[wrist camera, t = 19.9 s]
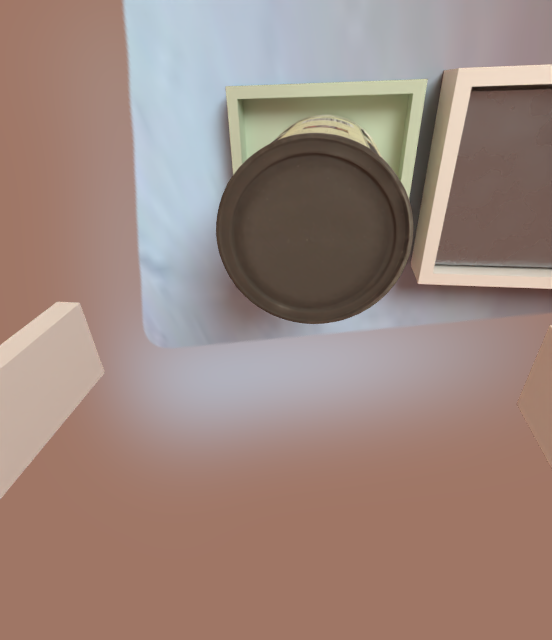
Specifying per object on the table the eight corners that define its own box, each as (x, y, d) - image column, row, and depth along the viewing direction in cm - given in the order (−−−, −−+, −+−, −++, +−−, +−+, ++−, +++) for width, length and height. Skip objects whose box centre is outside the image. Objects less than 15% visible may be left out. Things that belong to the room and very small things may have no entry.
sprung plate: (670, 84, 24) (682, 84, 23) (590, 263, 31) (597, 268, 30) (465, 91, 26) (470, 91, 25) (431, 259, 32) (434, 264, 31)
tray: (421, 79, 27) (427, 78, 25) (394, 259, 35) (398, 270, 32) (233, 86, 29) (225, 86, 27) (246, 255, 37) (241, 265, 34)
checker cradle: (683, 60, 25) (737, 57, 21) (589, 269, 33) (617, 291, 29) (443, 70, 27) (458, 68, 23) (410, 264, 35) (417, 283, 31)
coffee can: (287, 256, 35) (260, 342, 24) (242, 145, 31) (180, 182, 19) (398, 220, 32) (432, 298, 20) (366, 89, 27) (385, 92, 16)
